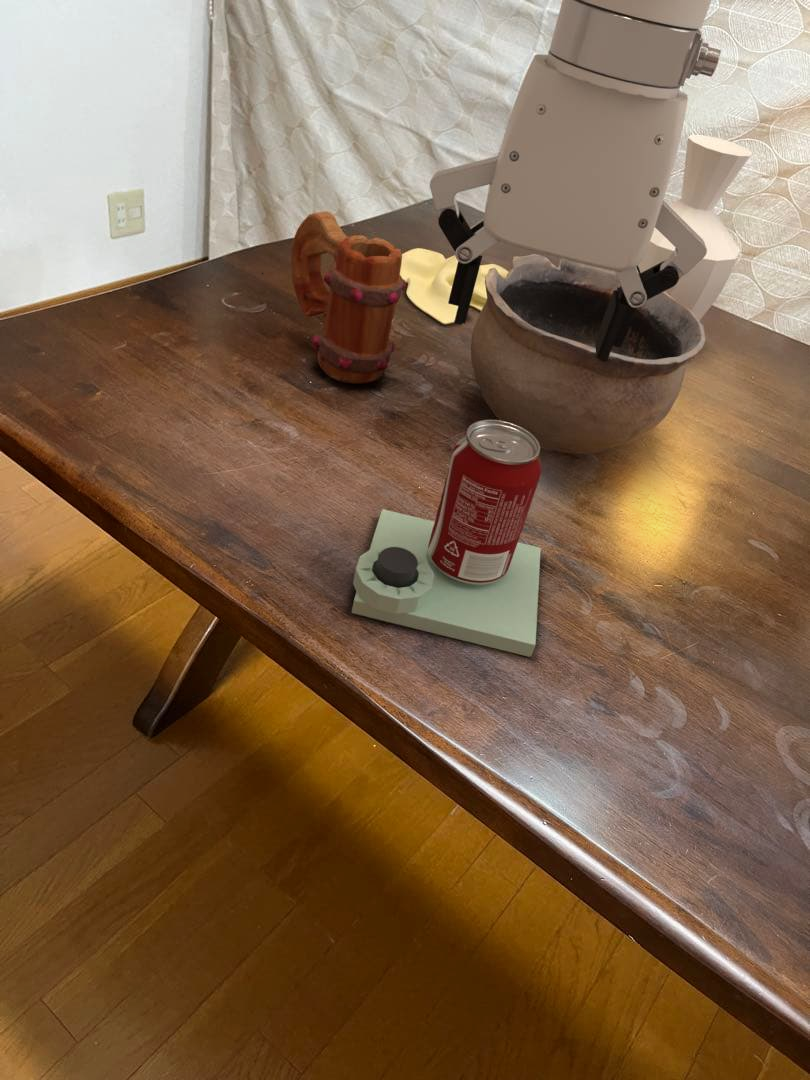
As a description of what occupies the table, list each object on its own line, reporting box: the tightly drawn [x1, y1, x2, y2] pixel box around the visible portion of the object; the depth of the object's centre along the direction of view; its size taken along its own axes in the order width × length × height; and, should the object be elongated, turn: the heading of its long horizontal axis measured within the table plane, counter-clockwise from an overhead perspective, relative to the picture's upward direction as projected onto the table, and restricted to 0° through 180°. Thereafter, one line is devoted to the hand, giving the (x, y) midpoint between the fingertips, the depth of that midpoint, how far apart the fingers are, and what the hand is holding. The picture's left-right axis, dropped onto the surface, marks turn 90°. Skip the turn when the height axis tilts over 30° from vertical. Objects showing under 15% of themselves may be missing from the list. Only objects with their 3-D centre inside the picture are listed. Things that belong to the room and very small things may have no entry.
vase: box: [638, 134, 753, 322], centre depth 108 cm, size 14×14×25 cm
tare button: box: [375, 547, 418, 588], centre depth 65 cm, size 3×3×2 cm
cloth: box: [400, 247, 509, 325], centre depth 115 cm, size 22×19×6 cm
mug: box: [290, 211, 407, 385], centre depth 91 cm, size 15×8×15 cm, turn 47°
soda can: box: [428, 419, 543, 585], centre depth 67 cm, size 7×7×12 cm
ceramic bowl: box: [470, 253, 707, 455], centre depth 88 cm, size 22×22×15 cm
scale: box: [351, 508, 542, 658], centre depth 69 cm, size 14×12×3 cm
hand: (530, 334), depth 58 cm, fingers open, 9 cm apart
